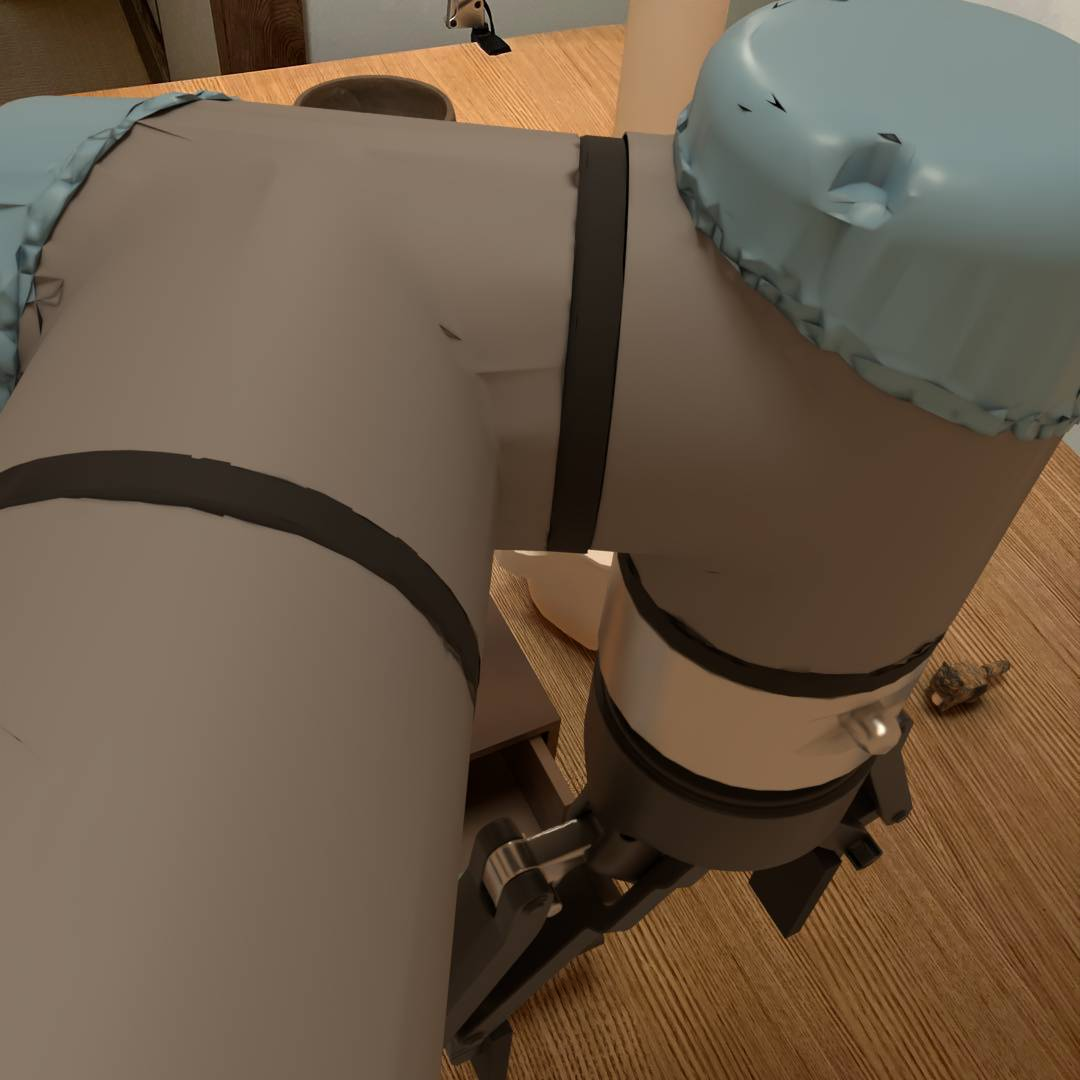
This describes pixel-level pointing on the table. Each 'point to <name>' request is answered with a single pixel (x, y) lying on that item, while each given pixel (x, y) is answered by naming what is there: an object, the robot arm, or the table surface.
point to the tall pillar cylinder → (664, 61)
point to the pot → (564, 587)
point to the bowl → (380, 97)
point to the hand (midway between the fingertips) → (634, 978)
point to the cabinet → (509, 695)
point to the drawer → (516, 795)
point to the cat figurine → (962, 682)
